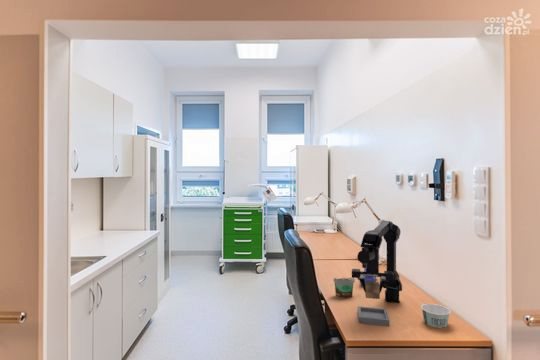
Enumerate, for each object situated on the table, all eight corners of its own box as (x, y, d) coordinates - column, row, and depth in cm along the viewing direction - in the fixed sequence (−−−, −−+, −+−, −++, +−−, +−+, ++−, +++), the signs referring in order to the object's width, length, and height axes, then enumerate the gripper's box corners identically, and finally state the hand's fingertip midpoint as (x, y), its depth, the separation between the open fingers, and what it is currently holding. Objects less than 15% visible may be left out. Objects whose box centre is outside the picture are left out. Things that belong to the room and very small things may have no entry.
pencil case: (364, 276, 214) (364, 262, 213) (378, 278, 210) (378, 263, 210) (358, 287, 193) (358, 271, 193) (373, 289, 190) (374, 273, 190)
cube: (378, 294, 153) (378, 281, 153) (379, 299, 147) (379, 285, 147) (365, 293, 154) (365, 280, 154) (365, 297, 149) (365, 284, 149)
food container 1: (338, 299, 173) (338, 281, 173) (333, 295, 179) (333, 277, 179) (359, 297, 176) (359, 279, 176) (353, 293, 182) (353, 275, 182)
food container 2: (441, 317, 152) (441, 303, 152) (456, 329, 140) (456, 314, 140) (415, 317, 151) (415, 303, 151) (429, 329, 139) (429, 314, 139)
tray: (385, 313, 155) (385, 308, 155) (389, 325, 143) (389, 320, 143) (357, 311, 158) (357, 306, 158) (358, 322, 146) (358, 317, 146)
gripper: (391, 256, 156) (391, 288, 157) (351, 254, 161) (351, 285, 161) (394, 262, 146) (394, 297, 146) (351, 259, 150) (351, 293, 150)
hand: (372, 292), depth 151 cm, fingers closed on cube, 6 cm apart
